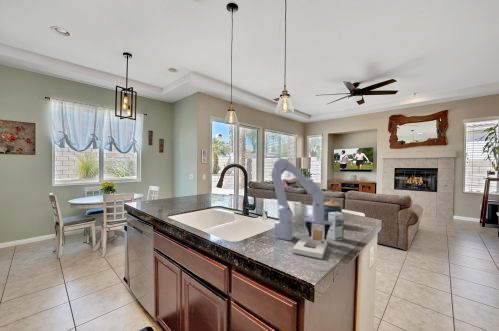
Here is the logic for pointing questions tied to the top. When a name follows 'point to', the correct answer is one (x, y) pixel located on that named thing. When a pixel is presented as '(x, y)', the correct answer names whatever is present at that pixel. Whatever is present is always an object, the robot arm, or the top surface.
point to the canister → (331, 208)
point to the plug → (317, 235)
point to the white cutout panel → (310, 248)
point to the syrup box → (336, 225)
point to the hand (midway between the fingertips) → (317, 237)
